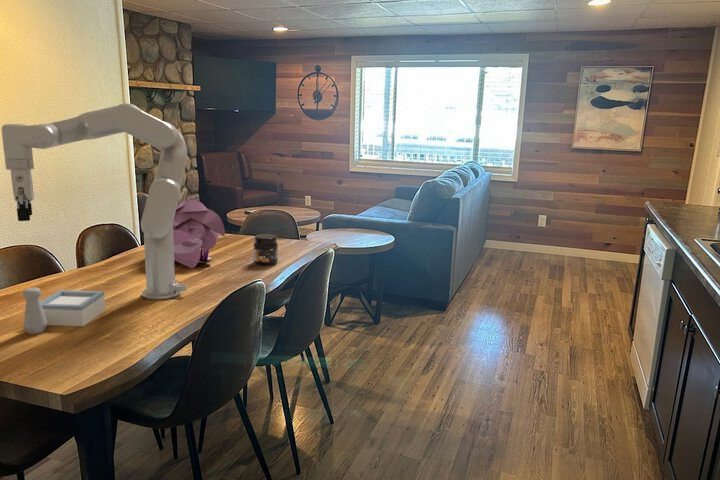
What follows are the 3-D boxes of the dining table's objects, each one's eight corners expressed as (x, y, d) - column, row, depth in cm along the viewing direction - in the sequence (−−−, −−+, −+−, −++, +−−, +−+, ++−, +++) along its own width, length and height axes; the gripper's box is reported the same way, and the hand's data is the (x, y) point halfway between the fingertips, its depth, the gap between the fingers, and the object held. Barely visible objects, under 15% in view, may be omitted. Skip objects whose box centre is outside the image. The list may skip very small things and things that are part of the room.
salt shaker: (51, 328, 157) (47, 285, 154) (41, 335, 151) (36, 292, 148) (31, 327, 157) (26, 285, 154) (20, 335, 151) (15, 291, 148)
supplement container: (248, 264, 231) (248, 237, 228) (260, 258, 241) (260, 232, 238) (270, 267, 228) (270, 239, 225) (282, 261, 238) (282, 235, 235)
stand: (105, 309, 173) (103, 291, 171) (83, 326, 159) (81, 306, 158) (61, 308, 173) (60, 290, 171) (36, 324, 159) (34, 305, 157)
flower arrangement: (230, 269, 240) (241, 207, 239) (207, 273, 217) (218, 204, 215) (159, 255, 246) (169, 194, 244) (129, 258, 222) (140, 191, 221)
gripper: (31, 166, 162) (37, 222, 165) (35, 161, 177) (40, 212, 180) (2, 167, 158) (8, 223, 162) (8, 162, 173) (14, 214, 177)
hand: (25, 217), depth 171 cm, fingers open, 9 cm apart
